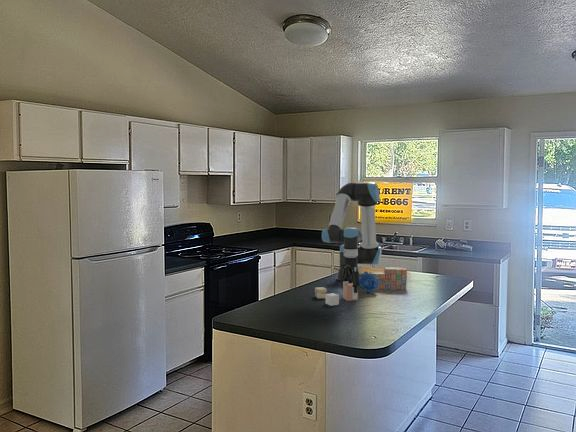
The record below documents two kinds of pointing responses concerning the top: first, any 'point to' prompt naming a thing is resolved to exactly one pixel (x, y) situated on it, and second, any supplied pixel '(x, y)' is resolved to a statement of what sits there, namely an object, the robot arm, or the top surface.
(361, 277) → the grapes
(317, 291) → the maple block
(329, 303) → the off-white plastic block
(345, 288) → the terracotta block
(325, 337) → the top surface
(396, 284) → the stack of blocks
